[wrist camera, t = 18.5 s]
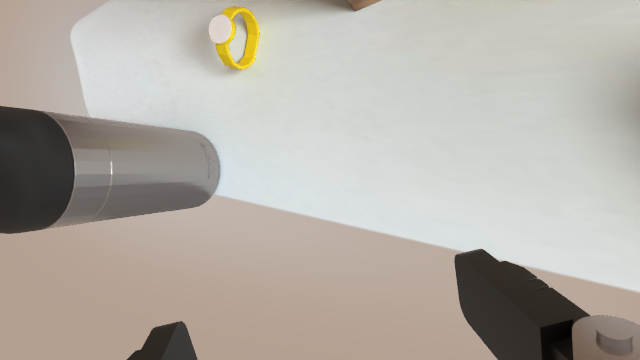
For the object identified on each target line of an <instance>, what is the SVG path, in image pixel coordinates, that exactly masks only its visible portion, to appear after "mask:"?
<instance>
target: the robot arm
mask: <svg viewBox="0 0 640 360" xmlns="http://www.w3.org/2000/svg"><path fill="white" fill-rule="evenodd" d="M219 177H220V165H219V159H218V156H217V152H216V150H215V149H214V147H213V145H212V144H211V143H210V141H209V140H208V139H207V138H205V137H204V136H203V135H201V134H199V133H196V132H191V131H184V130H177V129H170V128H164V127H156V126H149V125H142V124H134V123H127V122H120V121H112V120H105V119H98V118H90V117H83V116H74V115H67V114H60V113H52V112H45V111H37V110H29V109H21V108H13V107H3V106H0V233H6V234H11V233H22V232H29V231H36V230H42V229H47V228H54V227H61V226H68V225H74V224H82V223H88V222H95V221H102V220H109V219H116V218H123V217H130V216H137V215H144V214H151V213H158V212H165V211H173V210H180V209H187V208H193V207H197V206H200V205H202V204H204V203H205V202H206V201H207V200H208V199H210V197H211V196H212V195H213V193H214V192H215V190H216V187H217V185H218V181H219ZM455 270H456V277H457V285H458V293H459V301H460V306H461V309H462V312H463V314H464V317H465V318H466V320H467V322H468V323H469V325H470V326H471V327H472V328H473V330H474V331H475V332H476V333H477V334H478V336H479V337H480V338H481V339H482V341H483V342H484V343H485V344H486V346H487V347H488V348H489V349H490V350H491V352H492V353H493V354H494V355H495V357H496V358H497V359H498V360H640V325H638V324H636V323H634V322H631V321H628V320H625V319H621V318H618V317H612V316H604V315H596V316H590V315H589V314H587V313H586V312H585V311H583V310H582V309H581V308H579V307H578V306H576V305H575V304H574V303H572V302H571V301H569V300H568V299H567V298H565V297H564V296H562V295H561V294H560V293H558V292H557V291H556V290H554V289H553V288H549V286H548V285H547V284H546V283H544V282H543V281H542V280H540V279H537V277H536V276H535V275H533V274H532V273H531V272H529V271H528V270H526V269H525V268H524V267H521V266H518V265H515V264H513V263H510V262H507V261H502V262H499V261H498V260H496V259H495V258H494V257H493V256H491V255H490V254H489V253H487V252H486V251H485V250H483V249H477V250H473V251H469V252H465V253H461V254H457V255H456V256H455ZM127 360H197V357H196V354H195V351H194V348H193V345H192V342H191V339H190V336H189V333H188V330H187V328H186V325H185V324H184V323H183V322H182V321H180V322H176V323H172V324H167V325H163V326H159V327H155V328H153V329H152V331H151V332H150V335H149V336H148V338H147V340H146V342H145V344H144V345H143V347H142V349H141V350H137V351H135V352H134V353H133V354H132V355H131V356H130V357H129V358H128V359H127Z"/></svg>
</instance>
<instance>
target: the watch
mask: <svg viewBox="0 0 640 360" xmlns="http://www.w3.org/2000/svg"><path fill="white" fill-rule="evenodd" d="M237 13H240V14H241V15H242V17H243V18H244V20H245V22H246V26H247V31H248V37H247V43H246V48H245V53H244V57H243V58H242V60H241V61H240V62H239V63H235V62H234V60H233V58H232V57H231V55H230V52H229V46H228V44H229V43H230V42H231V41H232V40H233V38H234V36H235V32H236V27H235V23H234V21H233V20H232V19H233V18H234V17H235V15H236V14H237ZM208 33H209V37H210V38H211V40H212V41H213V42H214V43H216V49H217V52H218V55H219V57H220V59H221V60H222V62H223V63H224V64H225V65H226V66H228V67H230V68H234V69H240V70H242V69H246V68H248V67H249V66H250V65H251V64H252V63H253V62H254V60H255V59H256V58H255V55H256V50H257V45H258V40H259V35H260V33H259V28H258V23H257V20H256V19H255V17H254V15H253V13H252V12H251V11H250V10H248V9H246V8H245V7H235V6H233V7H230V8H226V9H225V10H224V11H223V13H222V14H221V15H217V16H215V17H214V18H213V19H212V20H211V22H210V24H209V28H208Z"/></svg>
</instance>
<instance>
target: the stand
mask: <svg viewBox="0 0 640 360" xmlns="http://www.w3.org/2000/svg"><path fill="white" fill-rule="evenodd" d="M348 1H349V3H350V4H351V5H352V7H353V8H354V10H355V11H358V10H360V9H362V8H365V7H367V6H369V5H371V4H374V3H376V2H378V1H381V0H348Z"/></svg>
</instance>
